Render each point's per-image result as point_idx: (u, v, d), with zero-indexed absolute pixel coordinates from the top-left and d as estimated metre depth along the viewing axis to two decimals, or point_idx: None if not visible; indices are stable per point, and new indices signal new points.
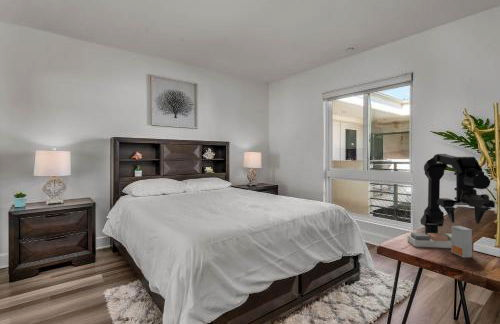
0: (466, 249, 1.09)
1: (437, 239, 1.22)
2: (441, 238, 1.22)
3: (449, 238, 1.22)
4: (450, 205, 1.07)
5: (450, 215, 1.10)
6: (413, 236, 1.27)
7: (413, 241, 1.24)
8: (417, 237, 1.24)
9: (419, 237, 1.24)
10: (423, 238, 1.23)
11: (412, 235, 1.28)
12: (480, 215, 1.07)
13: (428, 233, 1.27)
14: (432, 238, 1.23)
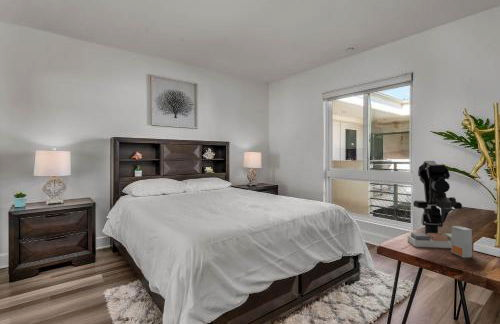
0: (466, 249, 1.09)
1: (437, 239, 1.22)
2: (441, 238, 1.22)
3: (449, 238, 1.22)
4: (423, 206, 1.23)
5: (429, 215, 1.25)
6: (413, 236, 1.27)
7: (413, 241, 1.24)
8: (417, 237, 1.24)
9: (419, 237, 1.24)
10: (423, 238, 1.23)
11: (412, 235, 1.28)
12: (445, 215, 1.23)
13: (428, 233, 1.27)
14: (432, 238, 1.23)
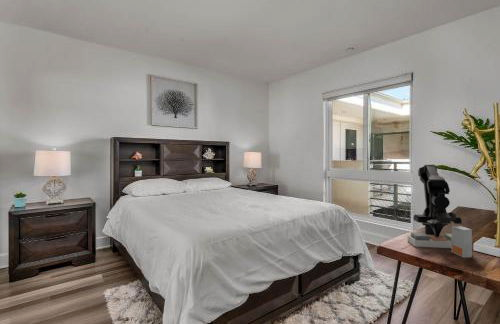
0: (466, 249, 1.09)
1: None
2: (441, 240, 1.22)
3: (449, 238, 1.22)
4: (423, 221, 1.23)
5: (434, 230, 1.25)
6: (413, 236, 1.27)
7: (413, 241, 1.24)
8: (417, 237, 1.24)
9: (419, 237, 1.24)
10: (423, 238, 1.23)
11: (412, 235, 1.28)
12: (439, 229, 1.24)
13: None
14: None
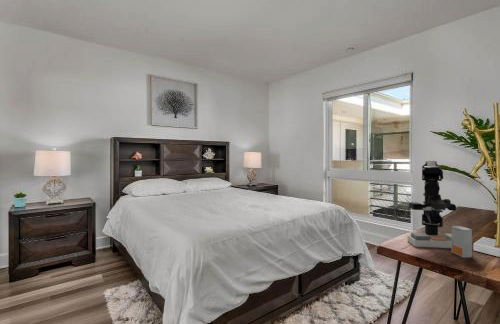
0: (466, 249, 1.09)
1: None
2: (441, 240, 1.22)
3: (449, 238, 1.22)
4: (419, 208, 1.23)
5: (429, 217, 1.25)
6: (413, 236, 1.27)
7: (413, 241, 1.24)
8: (417, 237, 1.24)
9: (419, 237, 1.24)
10: (423, 238, 1.23)
11: (412, 235, 1.28)
12: (434, 217, 1.24)
13: None
14: None
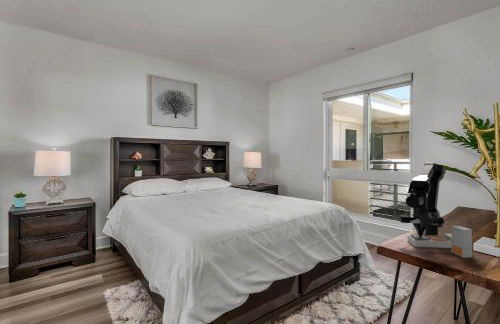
0: (466, 249, 1.09)
1: None
2: (441, 240, 1.22)
3: (449, 238, 1.22)
4: (407, 221, 1.24)
5: (417, 230, 1.26)
6: None
7: (413, 241, 1.24)
8: (417, 239, 1.24)
9: (419, 239, 1.24)
10: None
11: (412, 237, 1.28)
12: (422, 229, 1.25)
13: (428, 235, 1.27)
14: None
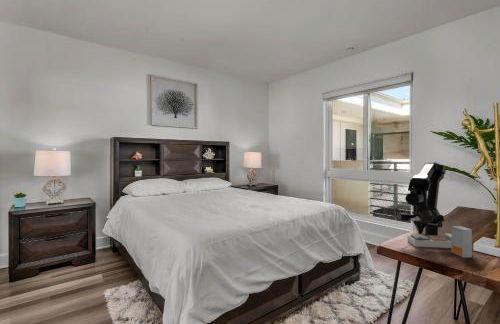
0: (466, 249, 1.09)
1: None
2: (441, 240, 1.22)
3: (449, 238, 1.22)
4: (406, 219, 1.24)
5: (417, 228, 1.26)
6: None
7: (413, 241, 1.24)
8: (417, 239, 1.24)
9: (419, 239, 1.24)
10: None
11: (412, 237, 1.28)
12: (422, 227, 1.25)
13: (428, 235, 1.27)
14: None
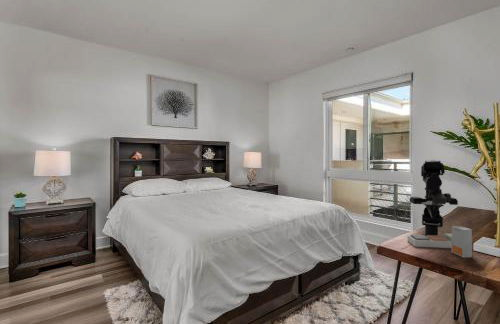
0: (466, 249, 1.09)
1: None
2: (441, 240, 1.22)
3: (449, 238, 1.22)
4: (419, 202, 1.24)
5: (430, 211, 1.26)
6: None
7: (413, 241, 1.24)
8: (417, 239, 1.24)
9: (419, 239, 1.24)
10: None
11: (412, 237, 1.28)
12: (435, 211, 1.25)
13: (428, 235, 1.27)
14: None
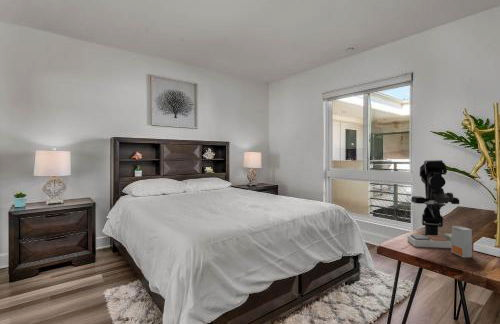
0: (466, 249, 1.09)
1: None
2: (441, 240, 1.22)
3: (449, 238, 1.22)
4: (421, 202, 1.24)
5: (432, 211, 1.25)
6: None
7: (413, 241, 1.24)
8: (417, 239, 1.24)
9: (419, 239, 1.24)
10: None
11: (412, 237, 1.28)
12: (437, 210, 1.24)
13: (428, 235, 1.27)
14: None
